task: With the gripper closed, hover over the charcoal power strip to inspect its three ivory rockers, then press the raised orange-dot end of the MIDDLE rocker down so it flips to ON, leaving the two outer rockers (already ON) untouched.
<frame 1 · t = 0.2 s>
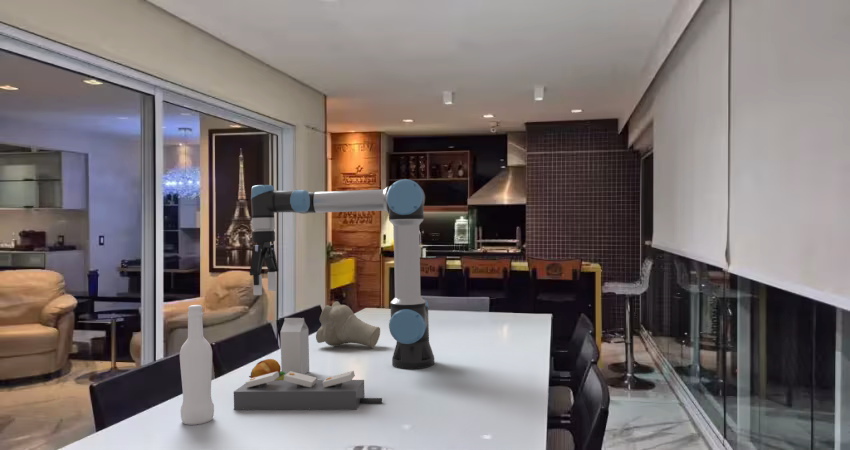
hand: (265, 292, 202), 28 cm above the table, fingers open, 13 cm apart
rocker 3: (262, 379, 168), point 7 cm above the table, hinge at 14.0°
cheeseburger: (268, 389, 185), on the table
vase: (351, 348, 245), on the table
rocker 2: (300, 378, 167), point 7 cm above the table, hinge at -14.0°
rocker 1: (338, 378, 166), point 7 cm above the table, hinge at 14.0°
bottle: (197, 421, 154), on the table
milk carton: (295, 374, 202), on the table
power strip: (301, 403, 167), on the table
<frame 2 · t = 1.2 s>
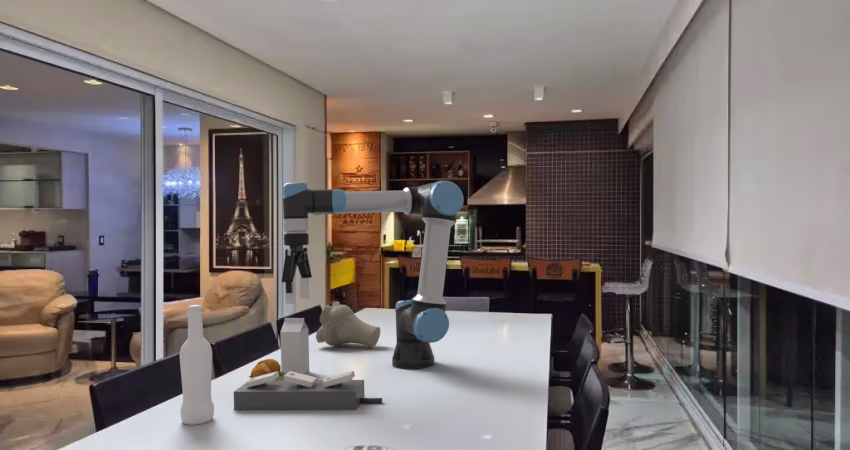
hand: (297, 301, 184), 27 cm above the table, fingers open, 13 cm apart
nothing on the table moved.
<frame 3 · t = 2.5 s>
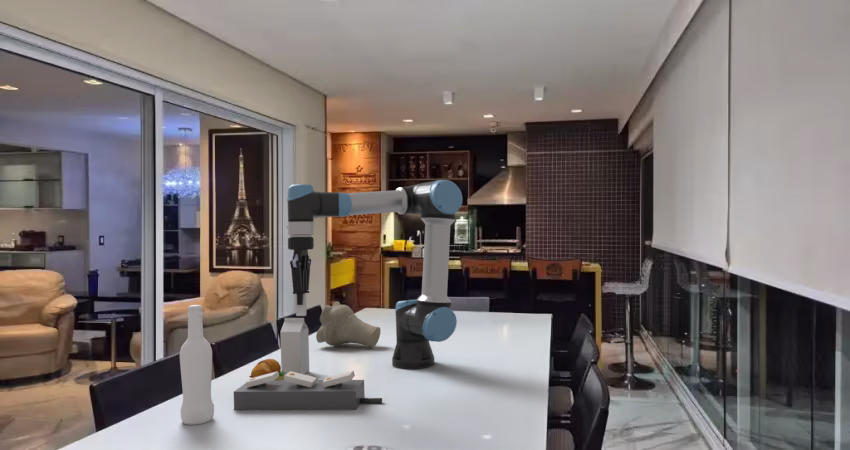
hand: (301, 315, 177), 23 cm above the table, fingers closed
nothing on the table moved.
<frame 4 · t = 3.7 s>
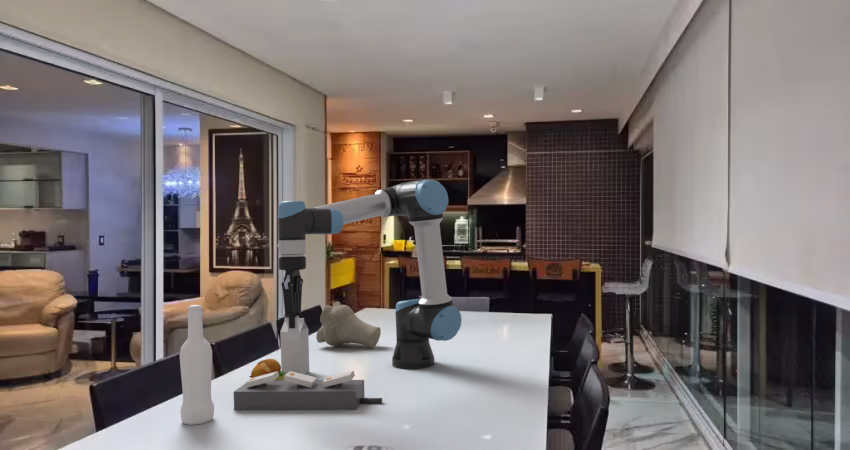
hand: (293, 339, 167), 18 cm above the table, fingers closed
nothing on the table moved.
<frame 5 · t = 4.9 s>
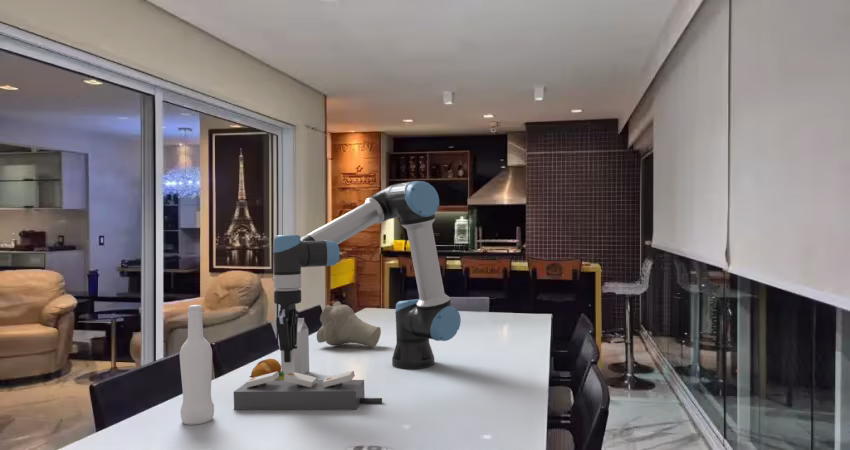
hand: (289, 372, 168), 9 cm above the table, fingers closed
rocker 2: (300, 378, 167), point 7 cm above the table, hinge at -13.8°, touching gripper
everything else where it was.
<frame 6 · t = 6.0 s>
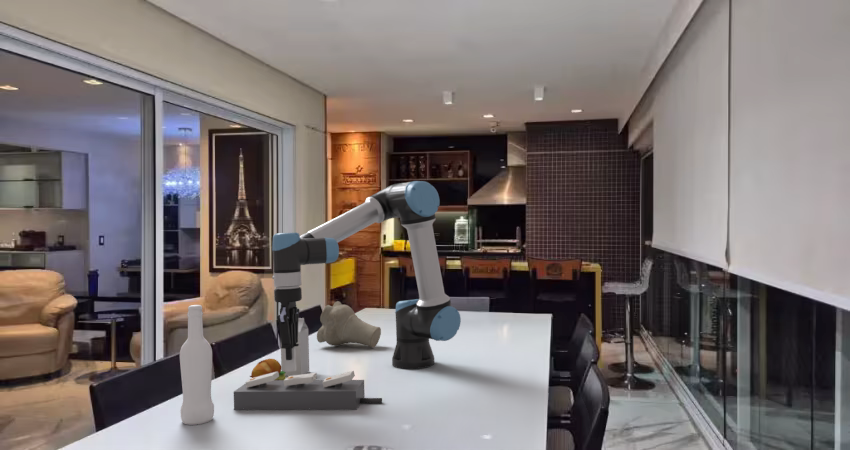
hand: (290, 370, 168), 9 cm above the table, fingers closed
rocker 2: (300, 378, 167), point 7 cm above the table, hinge at 6.6°
everything else where it was.
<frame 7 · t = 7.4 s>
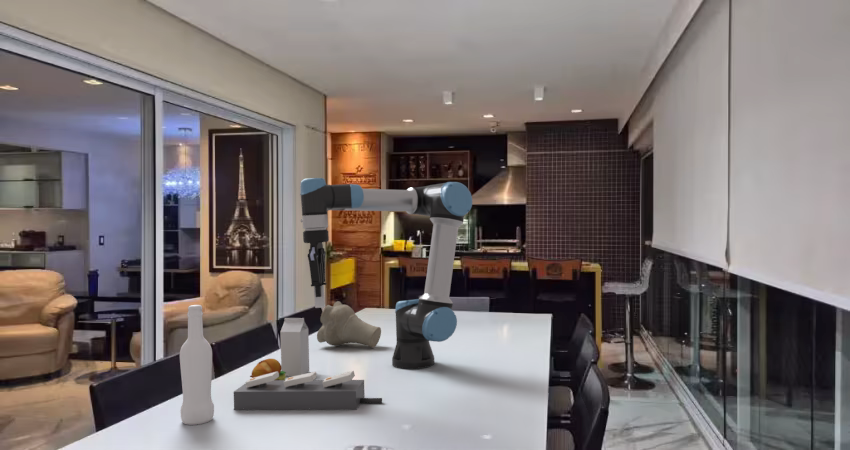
hand: (320, 307, 180), 25 cm above the table, fingers closed
rocker 2: (300, 378, 167), point 7 cm above the table, hinge at 11.4°
everything else where it was.
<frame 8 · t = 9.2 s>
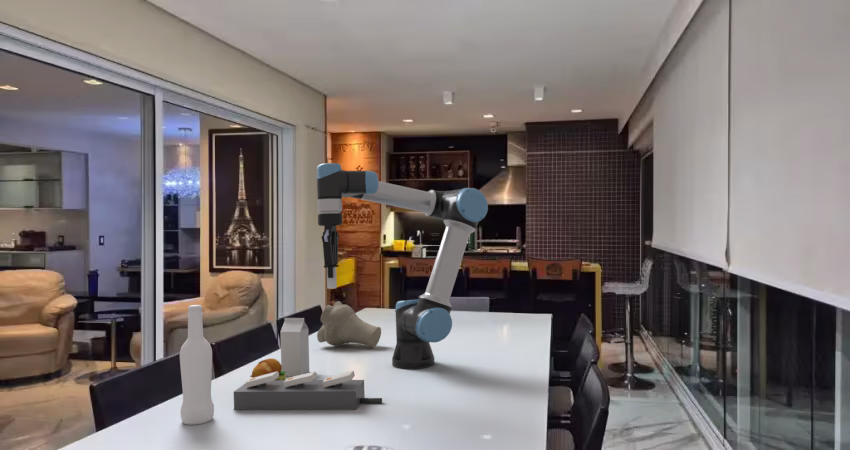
hand: (331, 288, 186), 30 cm above the table, fingers closed
rocker 2: (300, 378, 167), point 7 cm above the table, hinge at 12.5°
everything else where it was.
at the end: rocker 2 at +12° (first picture: -14°); rocker 1 at +14° (first picture: +14°); rocker 3 at +14° (first picture: +14°) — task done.
